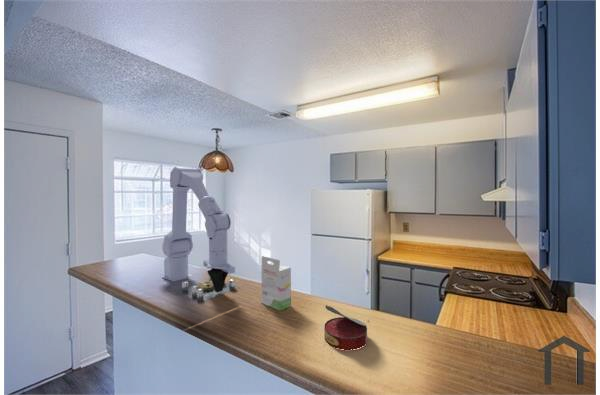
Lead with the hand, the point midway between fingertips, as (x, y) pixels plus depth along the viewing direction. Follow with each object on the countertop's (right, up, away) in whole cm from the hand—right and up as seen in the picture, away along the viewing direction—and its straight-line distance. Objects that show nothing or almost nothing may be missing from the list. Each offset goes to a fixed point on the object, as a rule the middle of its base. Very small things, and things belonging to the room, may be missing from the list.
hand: (218, 291), depth 94 cm
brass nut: (-6, -1, +4) cm, 7 cm away
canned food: (+37, -3, -27) cm, 46 cm away
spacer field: (-5, -1, +4) cm, 6 cm away
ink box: (+20, -2, -8) cm, 21 cm away
